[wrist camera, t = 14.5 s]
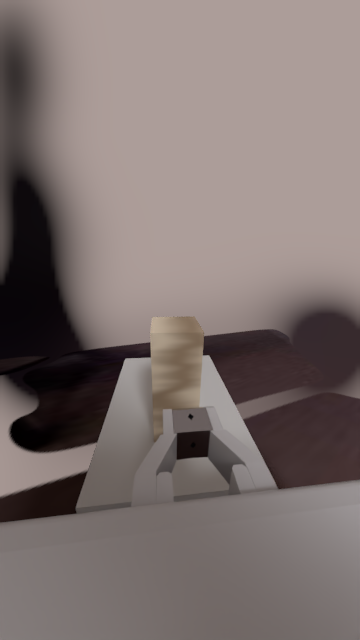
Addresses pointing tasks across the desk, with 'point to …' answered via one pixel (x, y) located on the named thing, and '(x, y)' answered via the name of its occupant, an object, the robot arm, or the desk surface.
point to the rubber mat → (138, 439)
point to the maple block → (175, 365)
